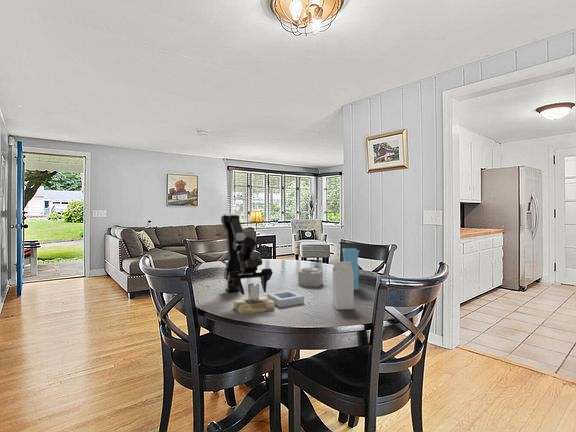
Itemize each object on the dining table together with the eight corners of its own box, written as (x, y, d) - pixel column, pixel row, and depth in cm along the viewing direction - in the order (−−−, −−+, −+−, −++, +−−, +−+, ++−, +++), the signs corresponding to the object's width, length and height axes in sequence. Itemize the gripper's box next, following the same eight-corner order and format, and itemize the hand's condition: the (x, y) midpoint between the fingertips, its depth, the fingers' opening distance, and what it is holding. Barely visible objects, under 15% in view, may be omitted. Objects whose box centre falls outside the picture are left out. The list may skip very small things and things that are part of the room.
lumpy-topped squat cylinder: (318, 287, 173) (318, 270, 173) (295, 285, 178) (295, 269, 178) (323, 282, 183) (323, 267, 182) (301, 281, 187) (301, 266, 187)
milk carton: (332, 304, 141) (332, 260, 140) (349, 304, 141) (348, 260, 141) (336, 310, 134) (336, 263, 133) (353, 309, 134) (353, 262, 134)
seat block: (267, 300, 148) (267, 293, 148) (290, 296, 154) (290, 290, 154) (279, 307, 138) (279, 300, 138) (304, 303, 144) (304, 296, 144)
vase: (359, 289, 166) (359, 250, 166) (343, 289, 166) (343, 250, 166) (356, 286, 174) (356, 248, 174) (341, 286, 174) (341, 248, 174)
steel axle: (246, 308, 137) (246, 284, 137) (256, 306, 139) (256, 282, 139) (250, 310, 134) (250, 286, 133) (260, 309, 136) (260, 284, 135)
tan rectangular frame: (233, 307, 138) (233, 300, 138) (263, 302, 144) (263, 296, 144) (242, 314, 129) (242, 307, 128) (274, 309, 135) (274, 301, 135)
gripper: (228, 252, 136) (235, 284, 126) (270, 249, 143) (280, 279, 134) (224, 268, 143) (230, 299, 133) (264, 265, 151) (273, 294, 141)
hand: (254, 293), depth 135 cm, fingers open, 9 cm apart
